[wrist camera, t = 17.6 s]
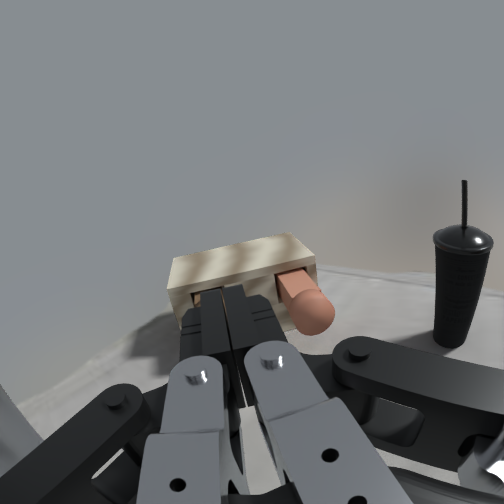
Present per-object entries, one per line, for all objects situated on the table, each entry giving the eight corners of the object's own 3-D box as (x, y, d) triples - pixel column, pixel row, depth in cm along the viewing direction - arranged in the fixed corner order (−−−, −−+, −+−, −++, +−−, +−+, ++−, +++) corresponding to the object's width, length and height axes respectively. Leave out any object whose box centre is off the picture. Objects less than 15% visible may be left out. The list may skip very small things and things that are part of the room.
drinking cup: (451, 364, 27) (475, 190, 20) (412, 335, 34) (418, 180, 27) (484, 337, 29) (506, 182, 22) (447, 314, 36) (456, 173, 29)
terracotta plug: (297, 340, 32) (292, 305, 30) (266, 281, 47) (261, 254, 46) (335, 328, 32) (333, 294, 31) (294, 274, 48) (290, 247, 46)
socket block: (188, 353, 40) (166, 289, 37) (190, 312, 51) (173, 258, 48) (320, 321, 42) (314, 255, 39) (296, 287, 53) (289, 232, 50)
